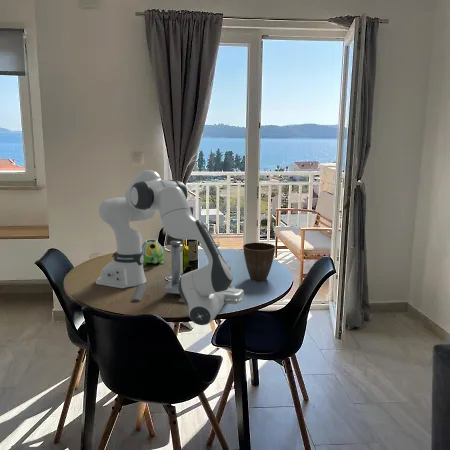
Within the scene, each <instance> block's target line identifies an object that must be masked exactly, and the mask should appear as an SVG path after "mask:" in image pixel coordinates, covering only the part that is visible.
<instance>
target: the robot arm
mask: <svg viewBox="0 0 450 450" xmlns="http://www.w3.org/2000/svg"><path fill="white" fill-rule="evenodd" d="M157 210H158V211H159V214H160V215H159V217H160V220H161V224H162V227H163V230H164V231H165V233H166V234H167V235H168V236H169V237H171V238H174V239H175V240H176V239H177V240H195V241H198V242H199V244H200V246H201V248H202V250H203V252H204V255H206V258H207V260H208V264H207V265H204V266H202V267H199V268H196V269H194V270H191V271H188V272H186V273H183V274H182V275H180V281H179V286H178V290H179V293H180V294H179V296H180V298H181V299H182V301H183V303H184V304H185V305H186V306H187V307H188V315H189V319H190V320H191V321H192V322H193V323H194V324H196V325H197V326H206V325H209V324H211V323H212V322H213V321H214V319H216V318H217V315H218V314H219V312H220V311H221V309H222V308H223V306H224V304H228V305H229V304H230V305H238V304H241V302H242V301H243V300H244V298H245V290H243V289H242V288H236V287H235V286H231V284H232V282H233V274H232V270H231V271H230V269H229V268H228V266H229V265H228V264H227V262H226V261H225V260H224V257H223V256H222V254H221V252H220V250H219V248H218V247H217V244H216V242H215V240H214V238H213V235H212V234H211V233H210V231H209V229H208V227H207V226H206V224H205V223H204V222H203V221H201V220H199V219H196V217H194V215H193V213H192V210H191V207H190V204H189V201H188V188H187V186H186V185H185V184H184V182H183V181H179V180H177V179H176V180H175V179H162V177H161V176H160V174H159V173H158V172H157V171H156V170H154V169H153V170H152V169H145V170H143V171H142V172H140V173H139V174H138V175H137V176H136V177H134V179H133V180H132V181H131V183H130V184H129V186H128V187H127V188H126V190H125V193H124V196H122V197H121V196H120V197H119V196H118V197H111V198H107V199H104V200H102V201H101V202H100V203H99V206H98V215H99V217H100V219H101V220H102V221H103V222H104V223H106V224H107V225H108V226H109V227H110V228H111V229H112V231H113V232H114V236H115V242H116V251H115V252H113V253H112V255H111V258H113V259H112V260H111V261H110V262H109V263H107V264H106V265H105V266H104V267H103V268H102V270H101V272H100V276H99V277H98V278H97V279H95V284H96V285H98V286H99V285H100V286H105V287H112V288H118V289H126V288H130V287H138V285H139V284H141V283H144V284H146V283H147V278H146V275H145V270H144V265H143V251H142V245H143V242H142V241H143V240H142V238H143V237H142V235H141V233H140V232H139V230H136V229H134V228H132V227H131V226H130V222H139V221H146V220H149V219H153V218H154V216H155V215H156V213H157ZM229 286H230V288H229Z"/></svg>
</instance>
